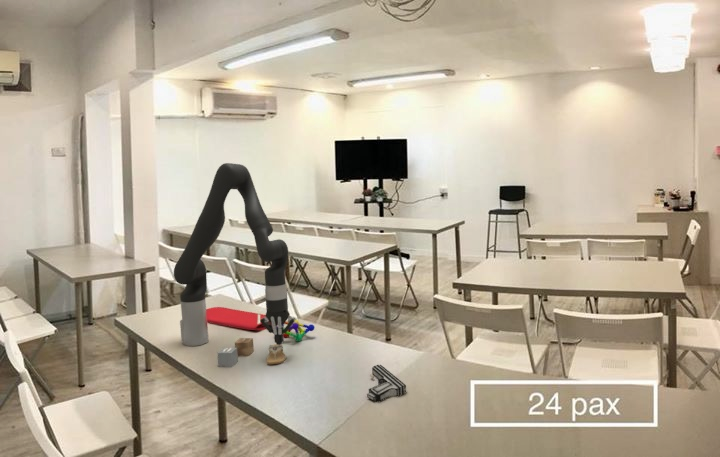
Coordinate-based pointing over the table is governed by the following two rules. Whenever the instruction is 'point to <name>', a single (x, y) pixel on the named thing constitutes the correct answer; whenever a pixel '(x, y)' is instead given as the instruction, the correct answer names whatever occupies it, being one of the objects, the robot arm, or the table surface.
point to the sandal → (275, 354)
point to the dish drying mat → (235, 318)
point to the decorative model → (298, 330)
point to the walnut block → (244, 346)
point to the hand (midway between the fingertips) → (279, 343)
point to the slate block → (227, 357)
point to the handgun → (385, 384)
